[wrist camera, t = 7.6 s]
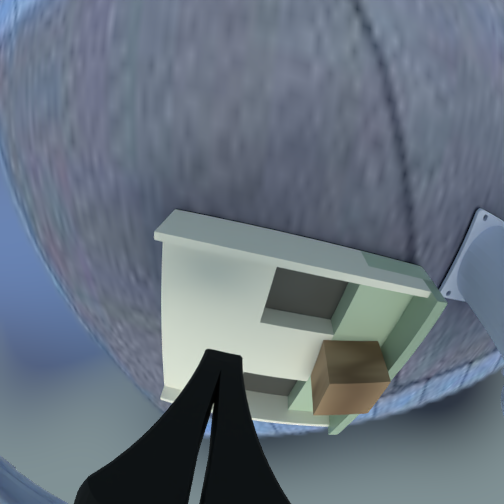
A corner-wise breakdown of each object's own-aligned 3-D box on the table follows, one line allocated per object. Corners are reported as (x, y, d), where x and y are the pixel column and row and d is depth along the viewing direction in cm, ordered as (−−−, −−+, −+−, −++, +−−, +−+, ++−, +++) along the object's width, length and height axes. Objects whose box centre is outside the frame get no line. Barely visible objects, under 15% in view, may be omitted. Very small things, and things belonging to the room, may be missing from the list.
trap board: (421, 266, 18) (447, 303, 14) (333, 400, 26) (337, 434, 22) (175, 209, 17) (147, 239, 13) (169, 373, 26) (158, 407, 22)
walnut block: (378, 340, 19) (390, 381, 15) (359, 375, 21) (367, 413, 17) (323, 340, 19) (329, 383, 15) (310, 375, 21) (313, 415, 18)
